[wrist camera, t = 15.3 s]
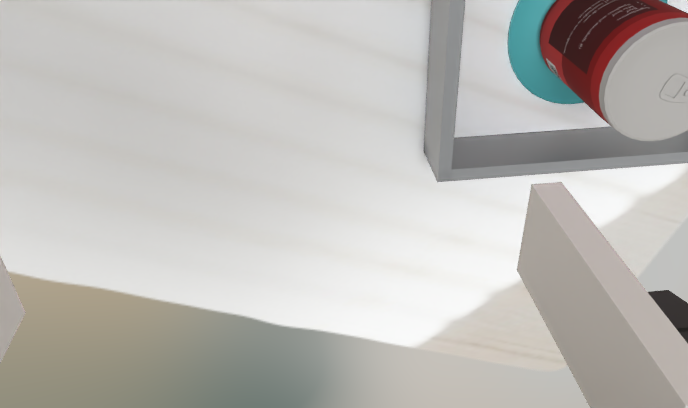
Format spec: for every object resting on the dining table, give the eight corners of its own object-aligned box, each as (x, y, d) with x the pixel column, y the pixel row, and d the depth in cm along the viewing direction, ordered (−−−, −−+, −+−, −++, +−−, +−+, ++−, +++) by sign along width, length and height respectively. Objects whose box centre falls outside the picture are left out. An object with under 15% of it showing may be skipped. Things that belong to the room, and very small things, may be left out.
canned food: (619, 80, 47) (703, 144, 38) (523, 76, 46) (586, 140, 37) (655, -20, 43) (759, 25, 34) (551, -28, 42) (629, 16, 33)
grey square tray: (423, 150, 49) (437, 181, 45) (436, -106, 39) (456, -97, 34) (699, 130, 51) (737, 159, 46) (784, -122, 40) (843, -115, 36)
